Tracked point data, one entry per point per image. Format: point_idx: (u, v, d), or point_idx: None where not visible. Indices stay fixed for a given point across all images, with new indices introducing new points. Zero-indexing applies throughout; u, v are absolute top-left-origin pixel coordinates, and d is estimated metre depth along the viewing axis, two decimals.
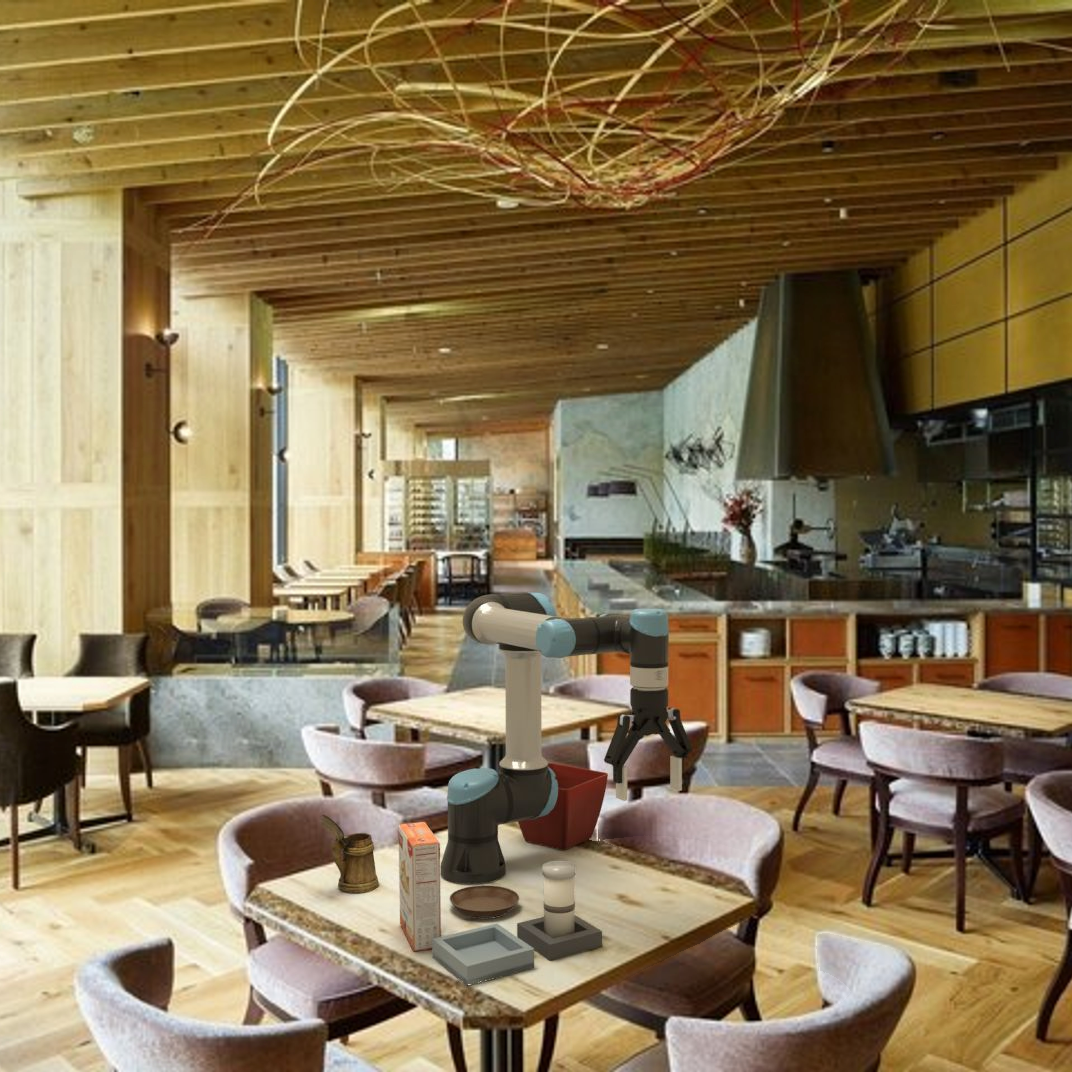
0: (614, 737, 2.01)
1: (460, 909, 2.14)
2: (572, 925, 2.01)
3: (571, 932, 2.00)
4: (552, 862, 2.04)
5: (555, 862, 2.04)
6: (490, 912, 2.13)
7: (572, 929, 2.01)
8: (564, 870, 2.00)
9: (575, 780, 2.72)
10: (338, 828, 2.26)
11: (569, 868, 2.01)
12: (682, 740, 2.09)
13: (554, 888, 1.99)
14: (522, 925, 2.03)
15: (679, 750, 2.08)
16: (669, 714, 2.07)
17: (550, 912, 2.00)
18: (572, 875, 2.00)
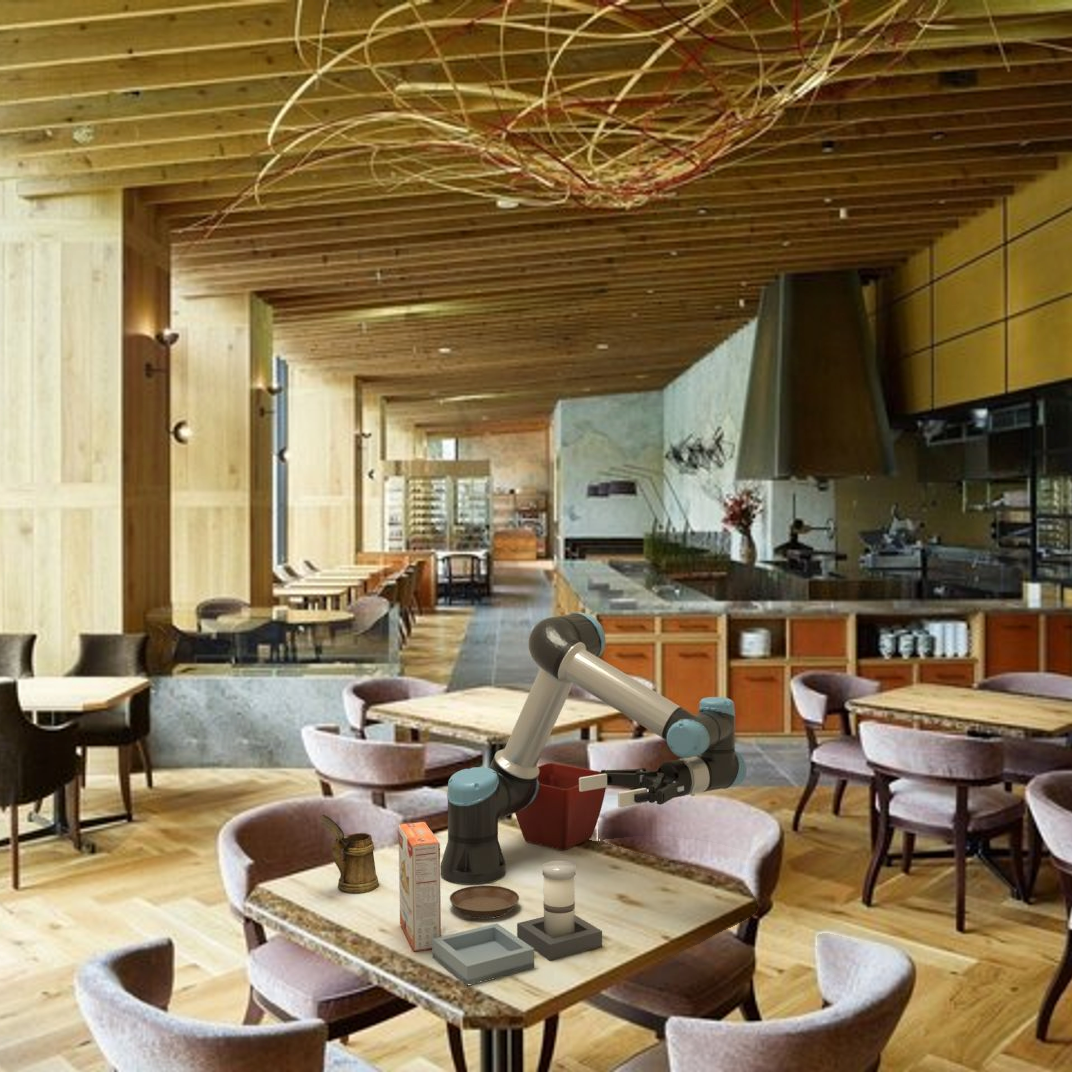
0: (672, 789, 2.06)
1: (460, 909, 2.14)
2: (572, 925, 2.01)
3: (571, 932, 2.00)
4: (552, 862, 2.04)
5: (555, 862, 2.04)
6: (490, 912, 2.13)
7: (572, 929, 2.01)
8: (564, 870, 2.00)
9: (575, 780, 2.72)
10: (338, 828, 2.26)
11: (569, 868, 2.01)
12: None
13: (554, 888, 1.99)
14: (522, 925, 2.03)
15: None
16: None
17: (550, 912, 2.00)
18: (572, 875, 2.00)
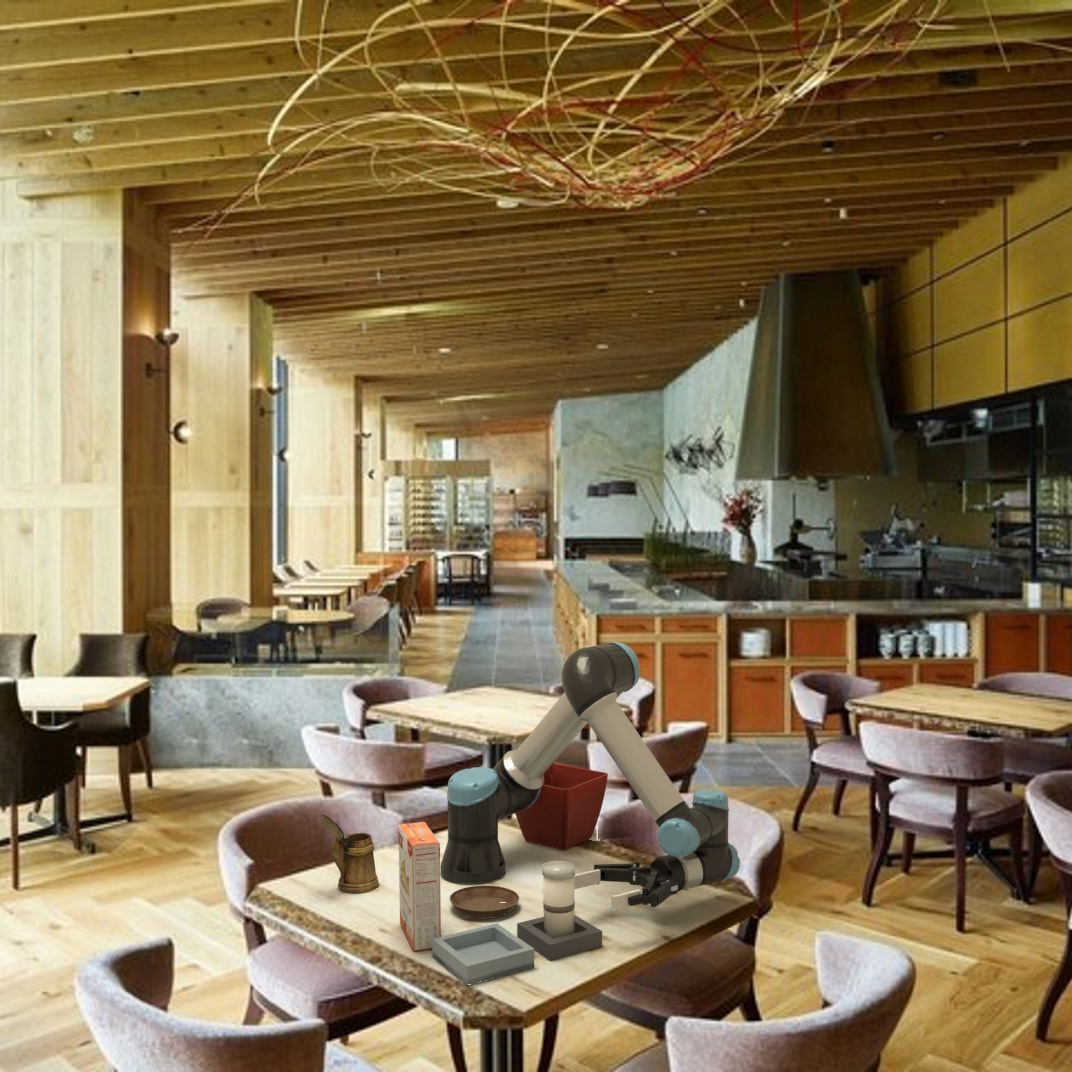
0: (666, 890, 2.05)
1: (460, 909, 2.14)
2: (572, 925, 2.01)
3: (571, 932, 2.00)
4: (552, 862, 2.04)
5: (555, 862, 2.04)
6: (490, 912, 2.13)
7: (572, 929, 2.01)
8: (564, 870, 1.99)
9: (575, 780, 2.72)
10: (338, 828, 2.26)
11: (568, 868, 2.00)
12: None
13: (554, 888, 1.99)
14: (522, 925, 2.03)
15: None
16: None
17: (550, 912, 2.00)
18: (572, 875, 2.00)
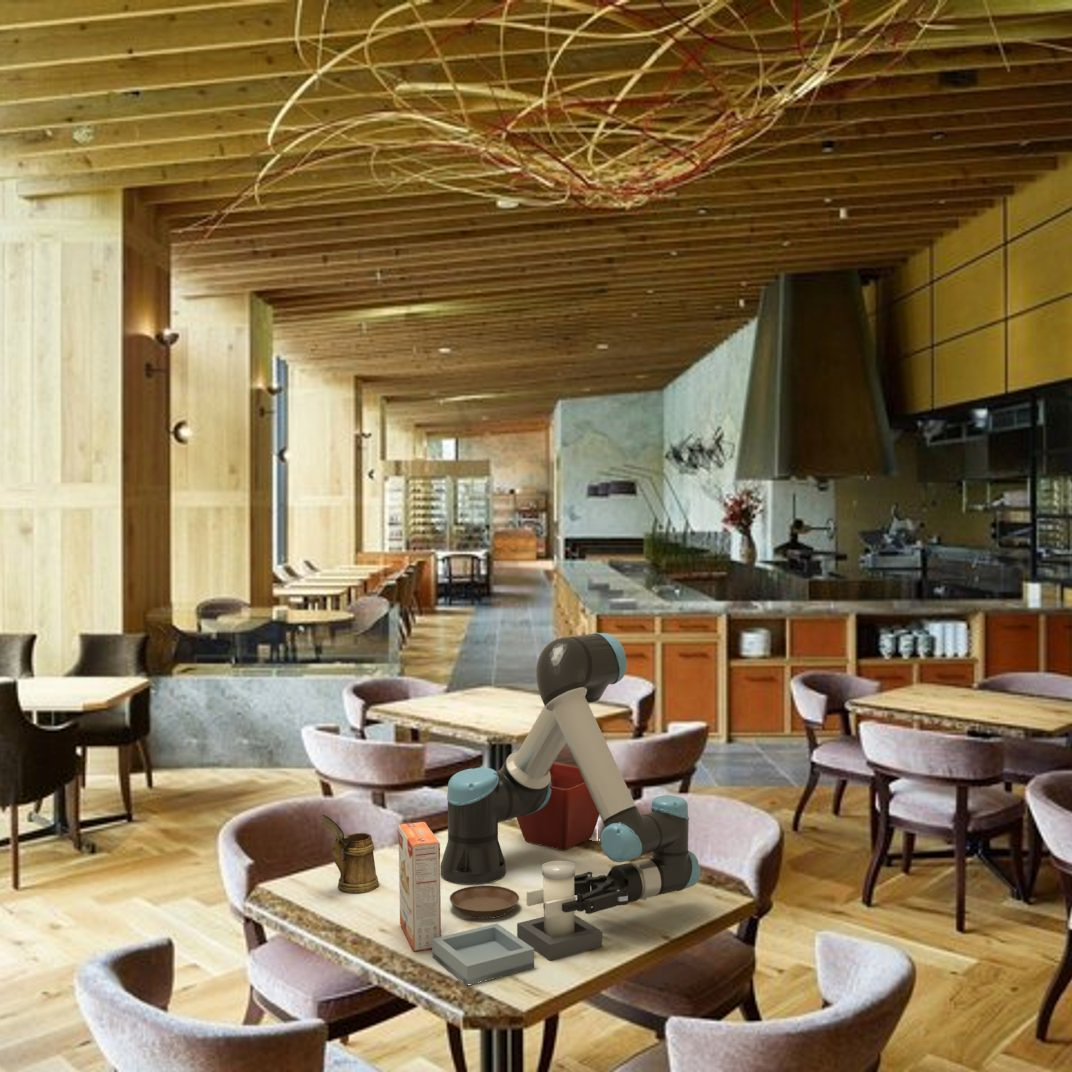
0: (608, 899, 2.00)
1: (460, 909, 2.14)
2: (572, 924, 2.01)
3: (571, 932, 2.00)
4: (552, 862, 2.04)
5: (555, 862, 2.04)
6: (490, 912, 2.13)
7: (572, 929, 2.01)
8: (564, 870, 2.00)
9: (575, 780, 2.72)
10: (338, 828, 2.26)
11: (568, 868, 2.01)
12: None
13: (554, 888, 1.99)
14: (522, 925, 2.03)
15: None
16: None
17: None
18: (572, 875, 2.00)
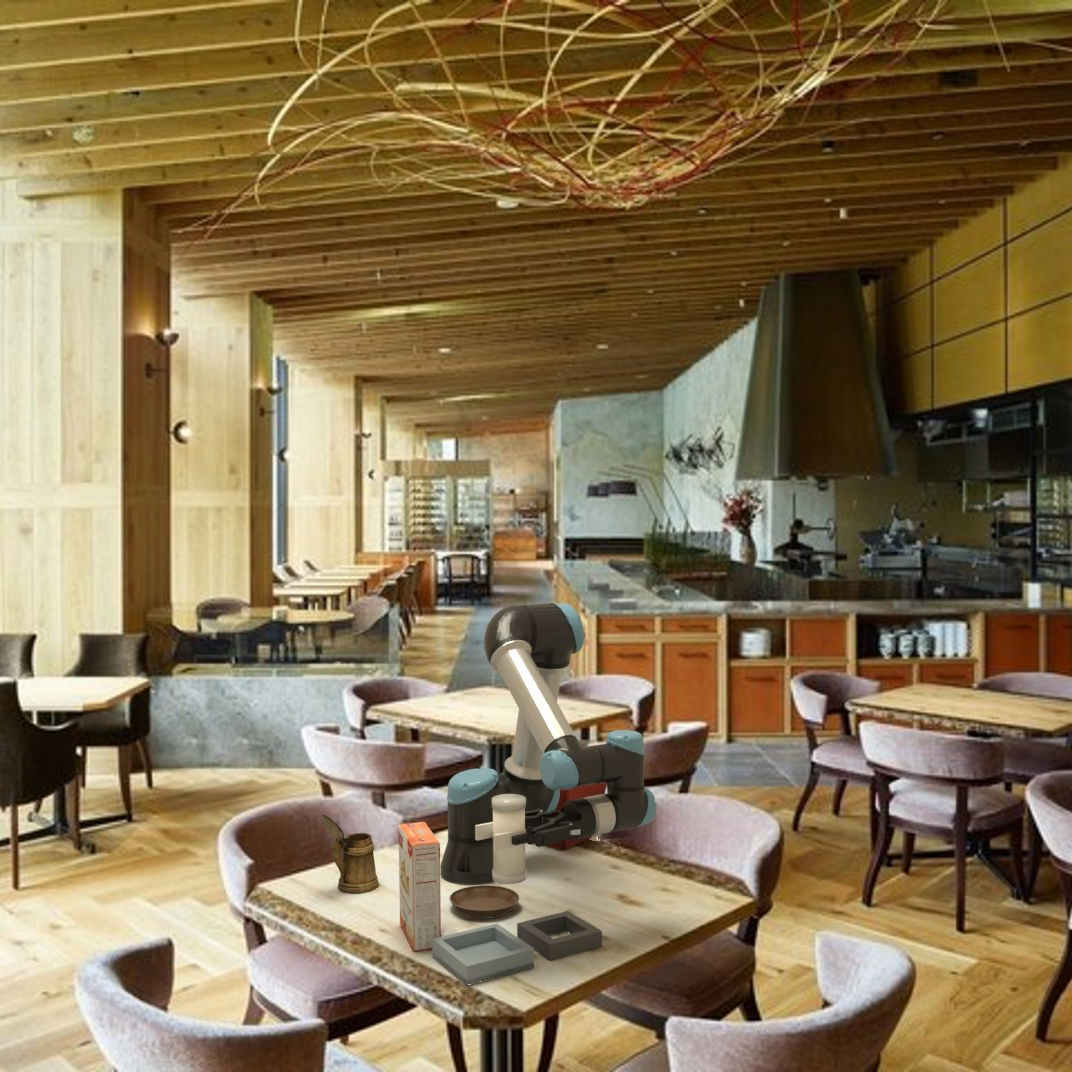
0: (559, 832, 1.93)
1: (460, 909, 2.14)
2: (523, 859, 1.93)
3: (521, 866, 1.93)
4: (502, 795, 1.96)
5: (505, 795, 1.96)
6: (490, 912, 2.13)
7: (522, 863, 1.93)
8: (514, 802, 1.92)
9: None
10: (338, 828, 2.26)
11: (519, 800, 1.93)
12: None
13: (503, 820, 1.91)
14: (522, 925, 2.03)
15: None
16: None
17: None
18: (522, 807, 1.92)
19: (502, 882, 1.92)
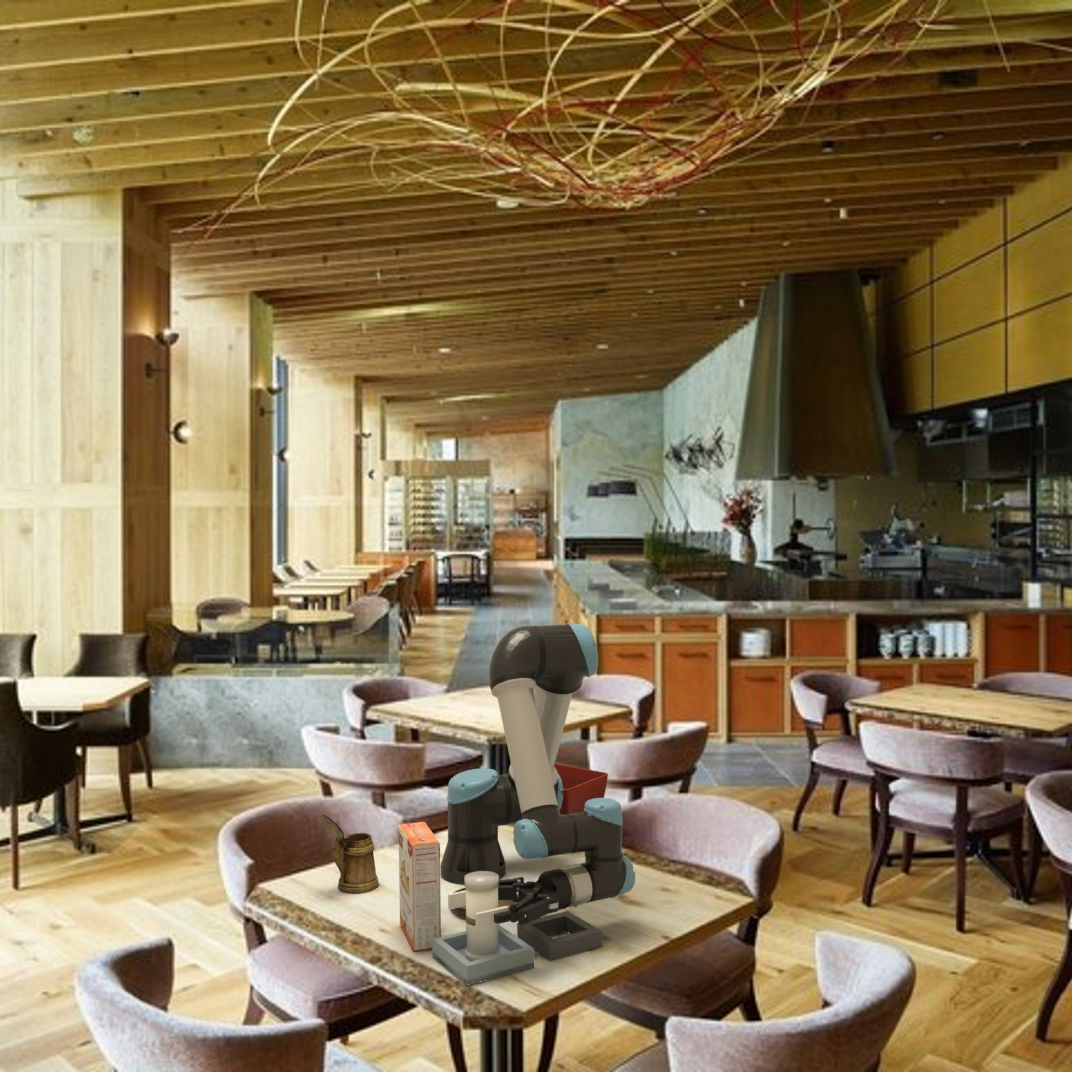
0: (540, 908, 1.91)
1: (460, 909, 2.14)
2: (496, 938, 1.92)
3: (494, 946, 1.91)
4: (475, 873, 1.95)
5: (478, 873, 1.95)
6: None
7: (495, 943, 1.92)
8: (486, 881, 1.91)
9: (575, 780, 2.72)
10: (338, 828, 2.26)
11: (491, 879, 1.92)
12: None
13: (475, 899, 1.90)
14: (522, 925, 2.03)
15: None
16: None
17: (472, 925, 1.91)
18: (495, 886, 1.91)
19: None
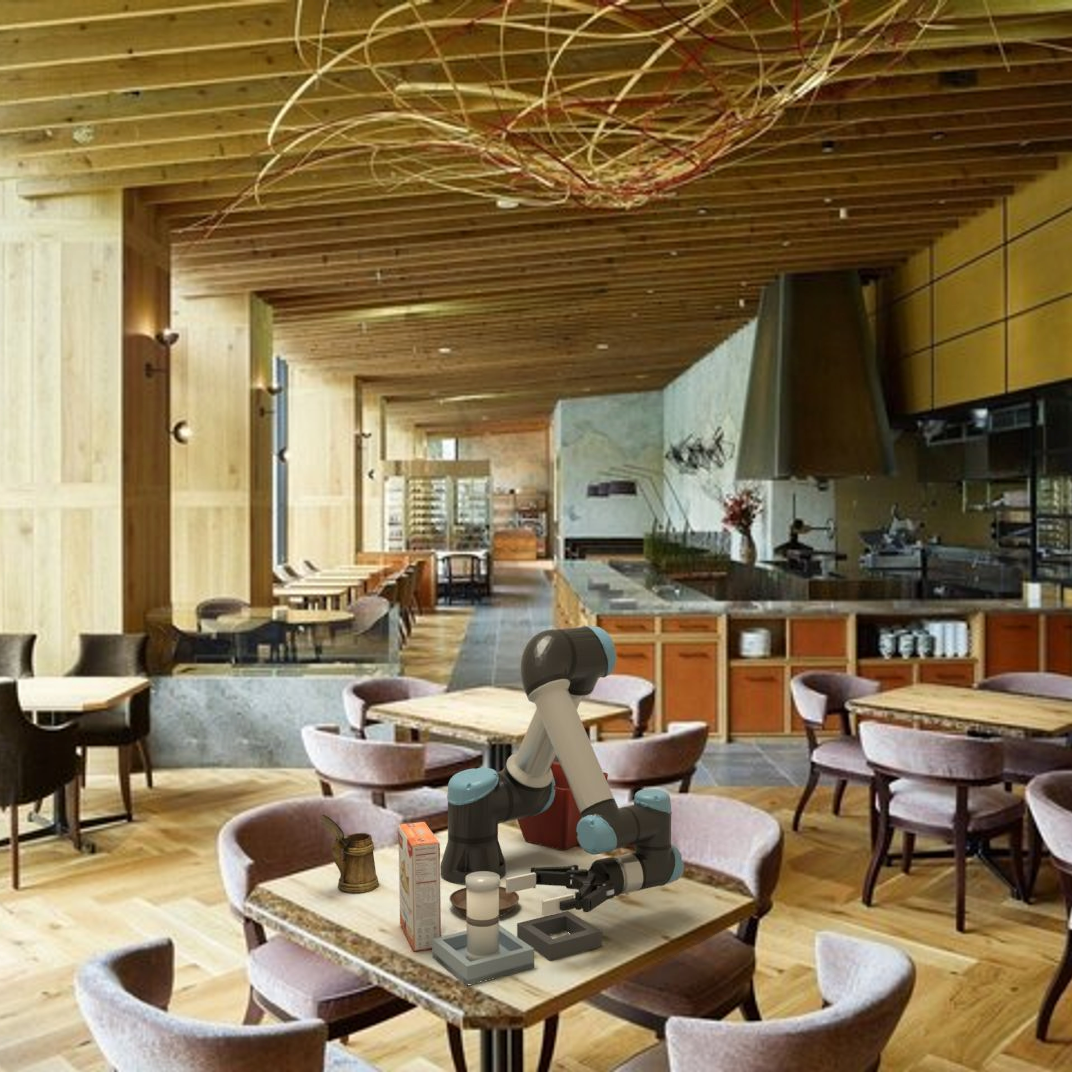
0: (600, 895, 1.97)
1: (460, 909, 2.14)
2: (496, 939, 1.92)
3: (494, 946, 1.91)
4: (476, 873, 1.95)
5: (479, 873, 1.95)
6: None
7: (496, 943, 1.92)
8: (487, 881, 1.91)
9: None
10: (338, 828, 2.26)
11: (492, 879, 1.92)
12: None
13: (476, 900, 1.90)
14: (522, 925, 2.03)
15: None
16: None
17: (472, 925, 1.91)
18: (496, 887, 1.91)
19: None
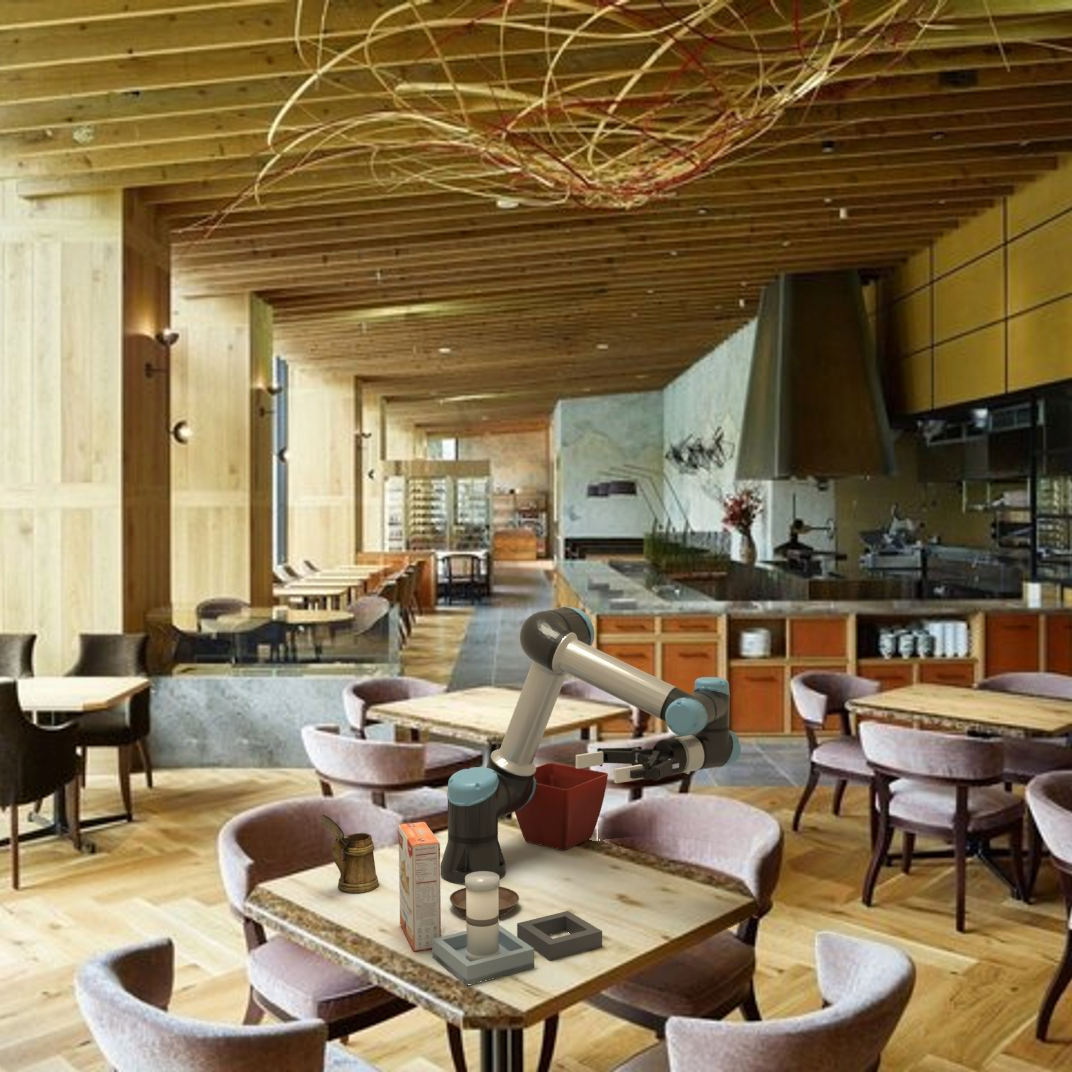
0: (667, 766, 2.09)
1: (460, 909, 2.14)
2: (496, 938, 1.92)
3: (494, 946, 1.91)
4: (476, 873, 1.95)
5: (479, 873, 1.95)
6: None
7: (495, 943, 1.92)
8: (487, 881, 1.91)
9: (575, 780, 2.72)
10: (338, 828, 2.26)
11: (492, 879, 1.92)
12: None
13: (476, 900, 1.90)
14: (522, 925, 2.03)
15: (608, 762, 2.20)
16: None
17: (472, 925, 1.91)
18: (495, 886, 1.91)
19: None
